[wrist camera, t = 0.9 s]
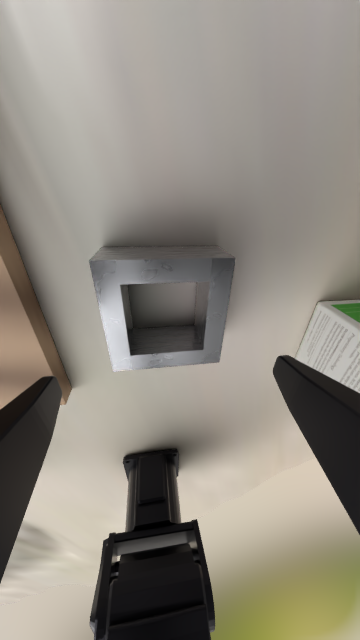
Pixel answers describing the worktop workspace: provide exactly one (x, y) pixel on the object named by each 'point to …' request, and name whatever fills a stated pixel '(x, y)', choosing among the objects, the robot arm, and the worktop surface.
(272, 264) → the worktop surface
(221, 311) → the steel link
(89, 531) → the worktop surface
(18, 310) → the keeper board
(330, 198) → the worktop surface
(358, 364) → the skincare box
